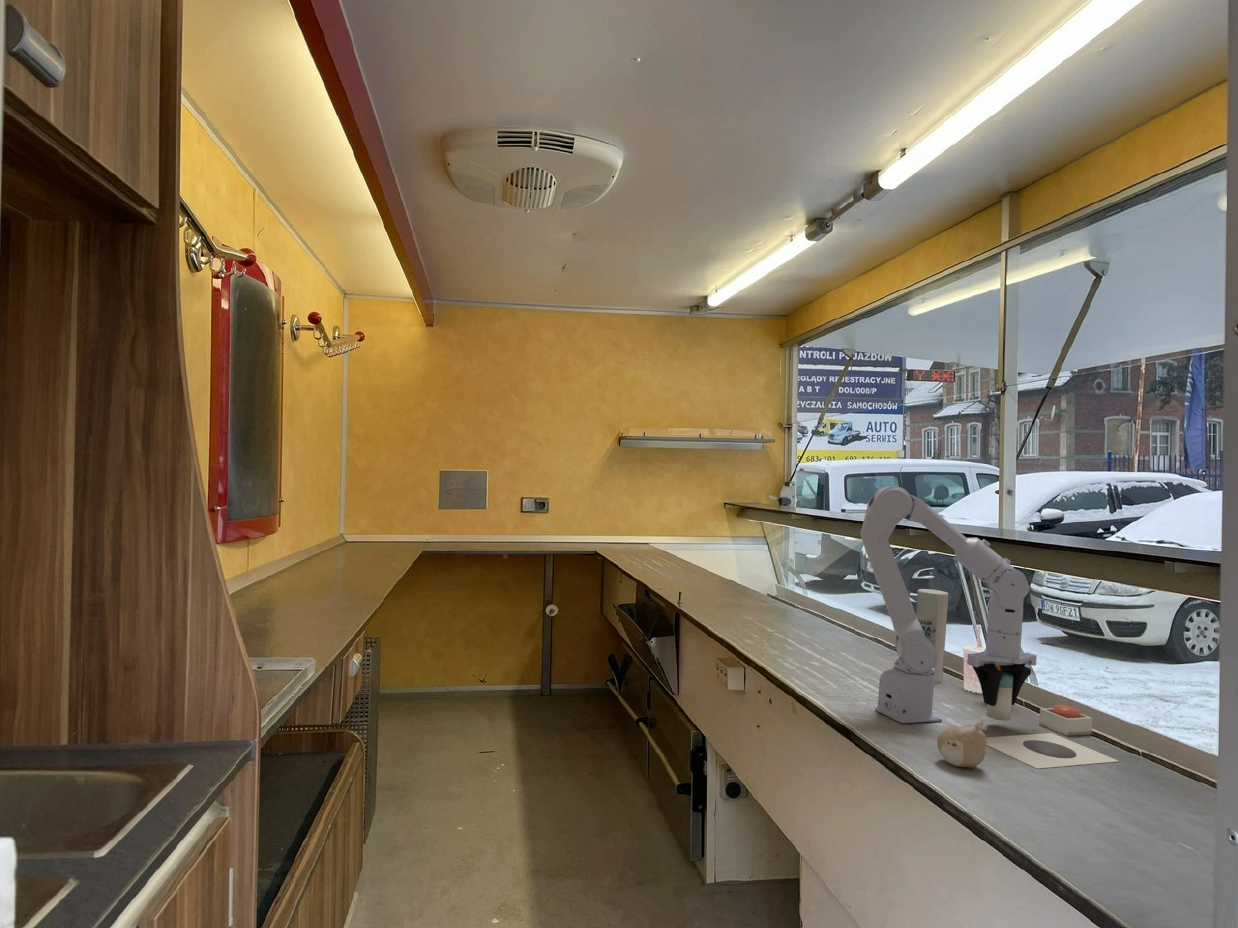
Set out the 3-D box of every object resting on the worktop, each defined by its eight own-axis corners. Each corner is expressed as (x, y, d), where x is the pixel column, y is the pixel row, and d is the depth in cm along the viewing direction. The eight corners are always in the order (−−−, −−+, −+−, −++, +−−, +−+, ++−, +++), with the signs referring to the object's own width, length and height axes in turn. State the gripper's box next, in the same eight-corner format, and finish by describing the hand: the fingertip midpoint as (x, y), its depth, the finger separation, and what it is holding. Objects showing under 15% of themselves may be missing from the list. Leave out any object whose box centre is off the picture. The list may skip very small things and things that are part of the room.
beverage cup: (987, 696, 159) (991, 630, 159) (956, 689, 163) (960, 625, 163) (993, 690, 164) (997, 626, 164) (963, 684, 168) (967, 621, 168)
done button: (1067, 723, 138) (1067, 712, 138) (1047, 715, 142) (1048, 704, 142) (1084, 721, 139) (1084, 711, 139) (1064, 714, 143) (1064, 703, 143)
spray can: (905, 675, 172) (911, 589, 172) (926, 673, 175) (931, 588, 175) (928, 683, 166) (934, 594, 166) (949, 681, 169) (954, 593, 169)
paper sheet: (1036, 768, 119) (1036, 767, 119) (974, 738, 131) (974, 737, 131) (1119, 761, 125) (1119, 760, 125) (1051, 733, 137) (1051, 732, 137)
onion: (956, 774, 115) (960, 722, 115) (929, 758, 121) (932, 708, 121) (992, 772, 116) (995, 721, 116) (963, 756, 123) (966, 707, 123)
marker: (998, 721, 136) (1001, 677, 136) (981, 713, 140) (984, 671, 140) (1015, 720, 138) (1018, 676, 138) (998, 712, 141) (1001, 670, 142)
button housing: (1067, 735, 136) (1068, 719, 136) (1039, 724, 142) (1040, 708, 142) (1091, 734, 138) (1092, 717, 138) (1063, 722, 144) (1064, 707, 144)
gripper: (990, 636, 133) (985, 712, 133) (1052, 635, 138) (1047, 709, 137) (960, 627, 140) (955, 699, 140) (1020, 627, 144) (1015, 697, 144)
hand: (999, 703), depth 139 cm, fingers closed on marker, 4 cm apart
